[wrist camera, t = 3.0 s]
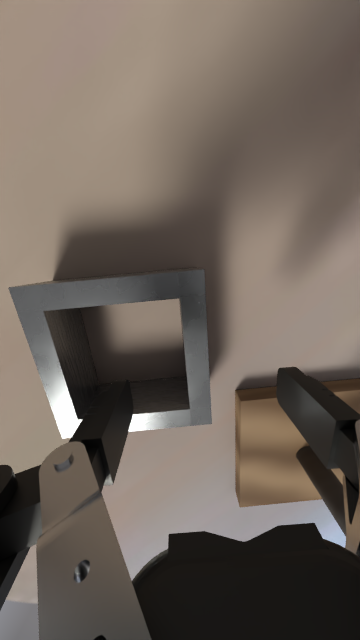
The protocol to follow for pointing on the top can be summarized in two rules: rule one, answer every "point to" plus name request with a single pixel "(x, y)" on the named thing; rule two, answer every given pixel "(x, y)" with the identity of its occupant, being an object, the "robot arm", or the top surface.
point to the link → (76, 360)
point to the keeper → (284, 453)
